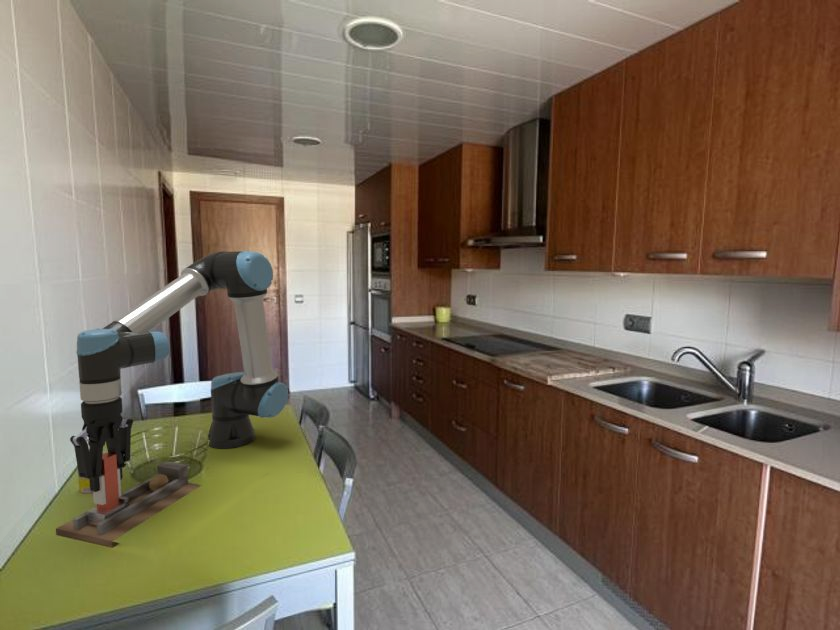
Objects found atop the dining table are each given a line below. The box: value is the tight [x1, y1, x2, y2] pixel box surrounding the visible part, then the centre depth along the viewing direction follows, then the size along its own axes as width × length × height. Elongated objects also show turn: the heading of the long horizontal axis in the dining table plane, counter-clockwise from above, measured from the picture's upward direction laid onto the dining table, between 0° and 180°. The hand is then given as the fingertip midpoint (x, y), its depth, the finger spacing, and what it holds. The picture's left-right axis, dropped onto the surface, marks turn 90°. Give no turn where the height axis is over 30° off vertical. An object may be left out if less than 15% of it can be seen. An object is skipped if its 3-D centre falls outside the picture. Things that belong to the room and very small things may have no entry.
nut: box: [149, 474, 169, 492], centre depth 117 cm, size 4×4×4 cm
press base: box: [55, 461, 202, 549], centre depth 110 cm, size 26×16×6 cm, turn 164°
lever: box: [86, 452, 129, 526], centre depth 103 cm, size 6×5×15 cm
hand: (107, 499), depth 103 cm, fingers closed on lever, 3 cm apart
